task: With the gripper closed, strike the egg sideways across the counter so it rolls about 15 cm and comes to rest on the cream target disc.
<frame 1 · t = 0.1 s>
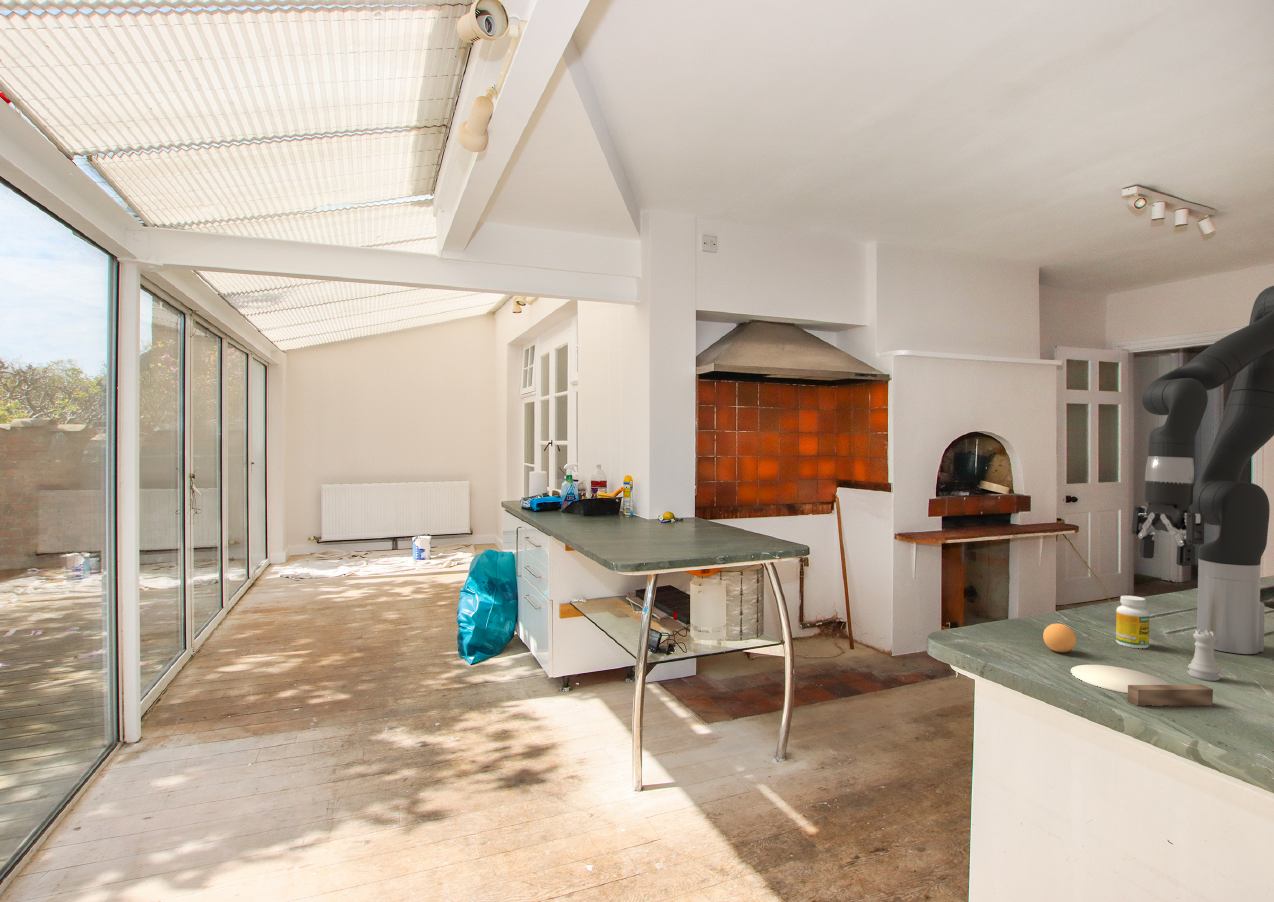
hand: (1164, 561, 130), 17 cm above the worktop, tool pointing down, fingers open, 8 cm apart
target disc: (1119, 679, 112), on the worktop
egg: (1059, 637, 127), on the worktop
rook chess piece: (1203, 678, 114), on the worktop
supplement bottle: (1132, 645, 132), on the worktop
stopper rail: (1169, 702, 102), on the worktop
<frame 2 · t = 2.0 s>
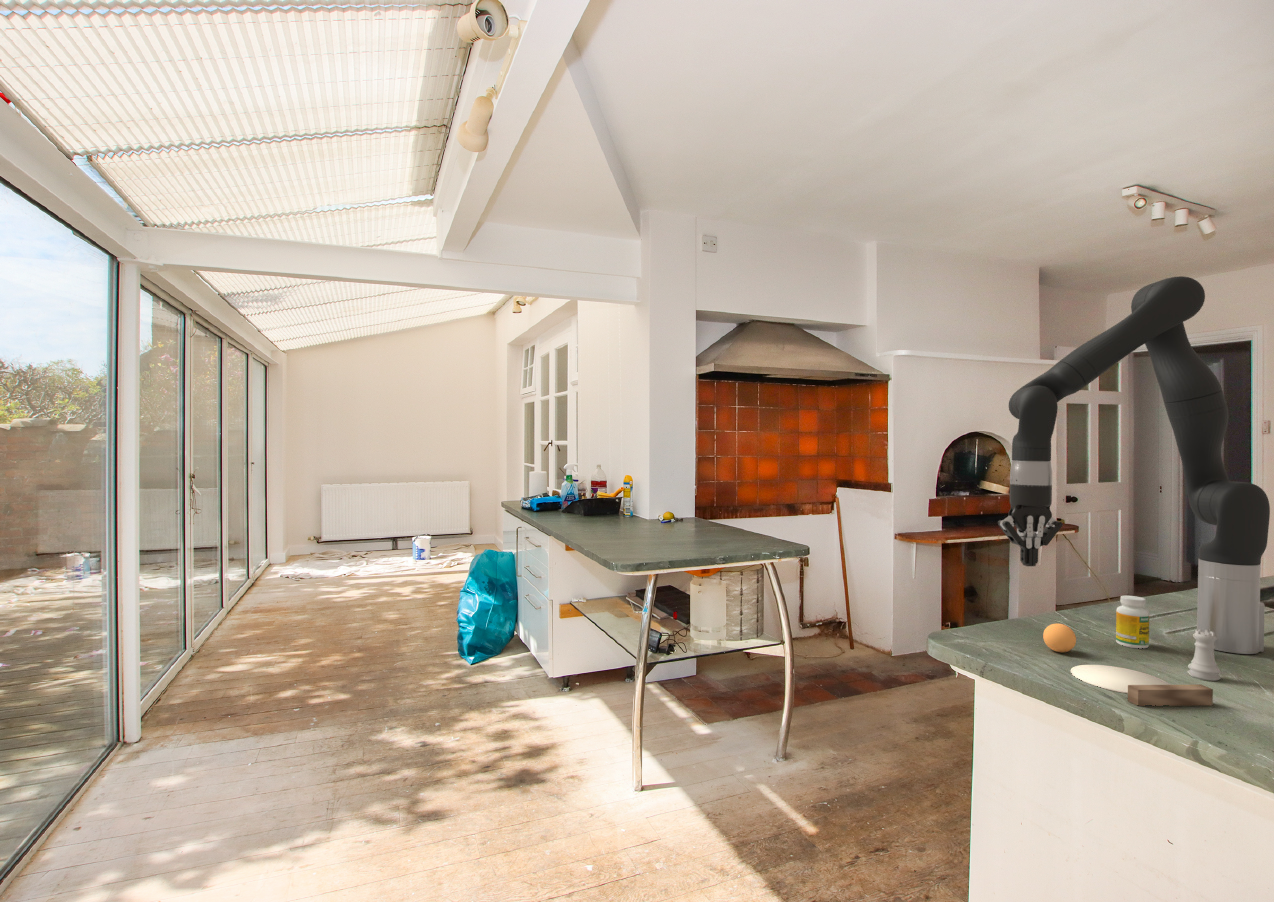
hand: (1029, 565, 136), 15 cm above the worktop, tool pointing down, fingers closed
nothing on the worktop moved.
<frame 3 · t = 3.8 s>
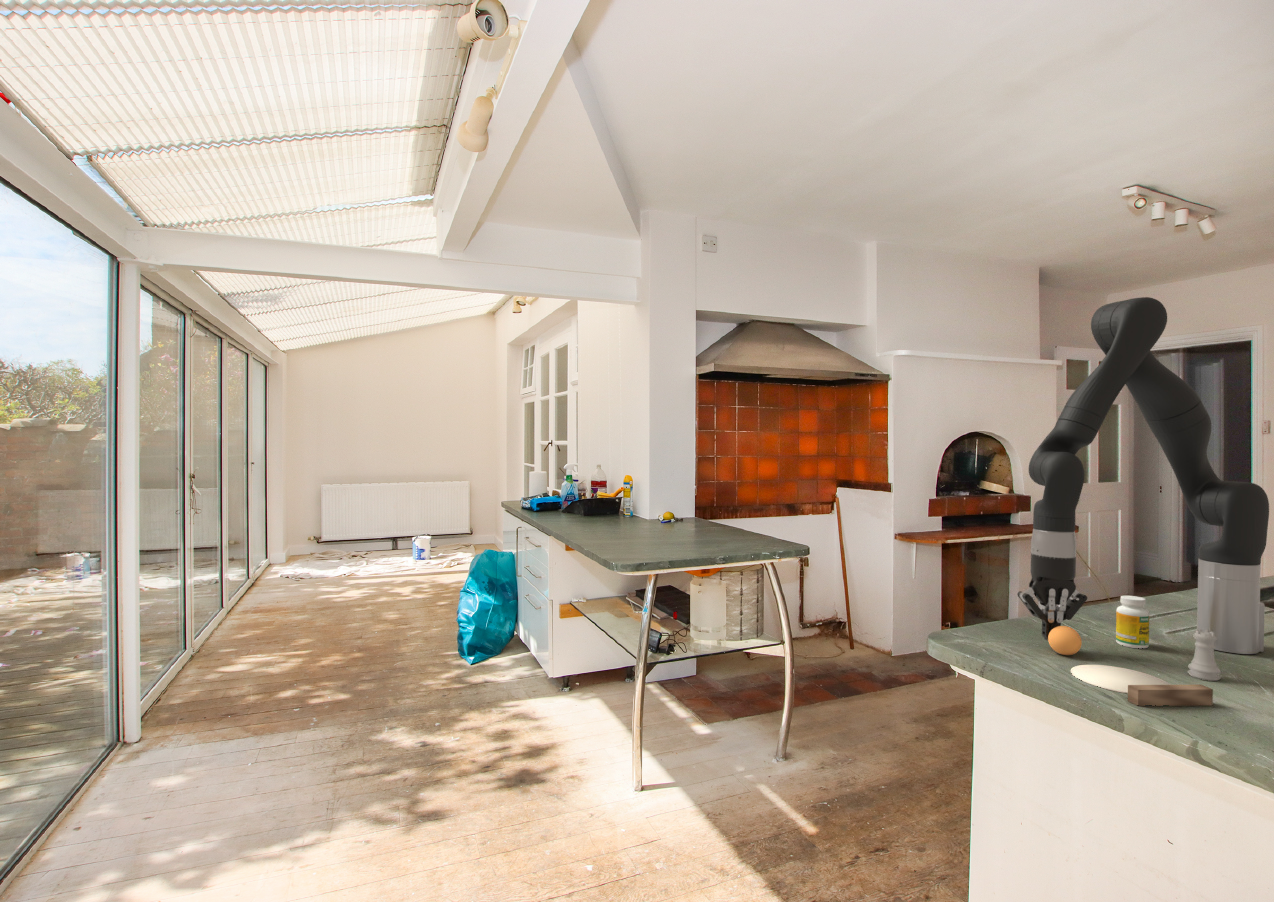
hand: (1051, 640, 129), 2 cm above the worktop, tool pointing down, fingers closed
egg: (1064, 640, 125), on the worktop, touching gripper
everything else where it was.
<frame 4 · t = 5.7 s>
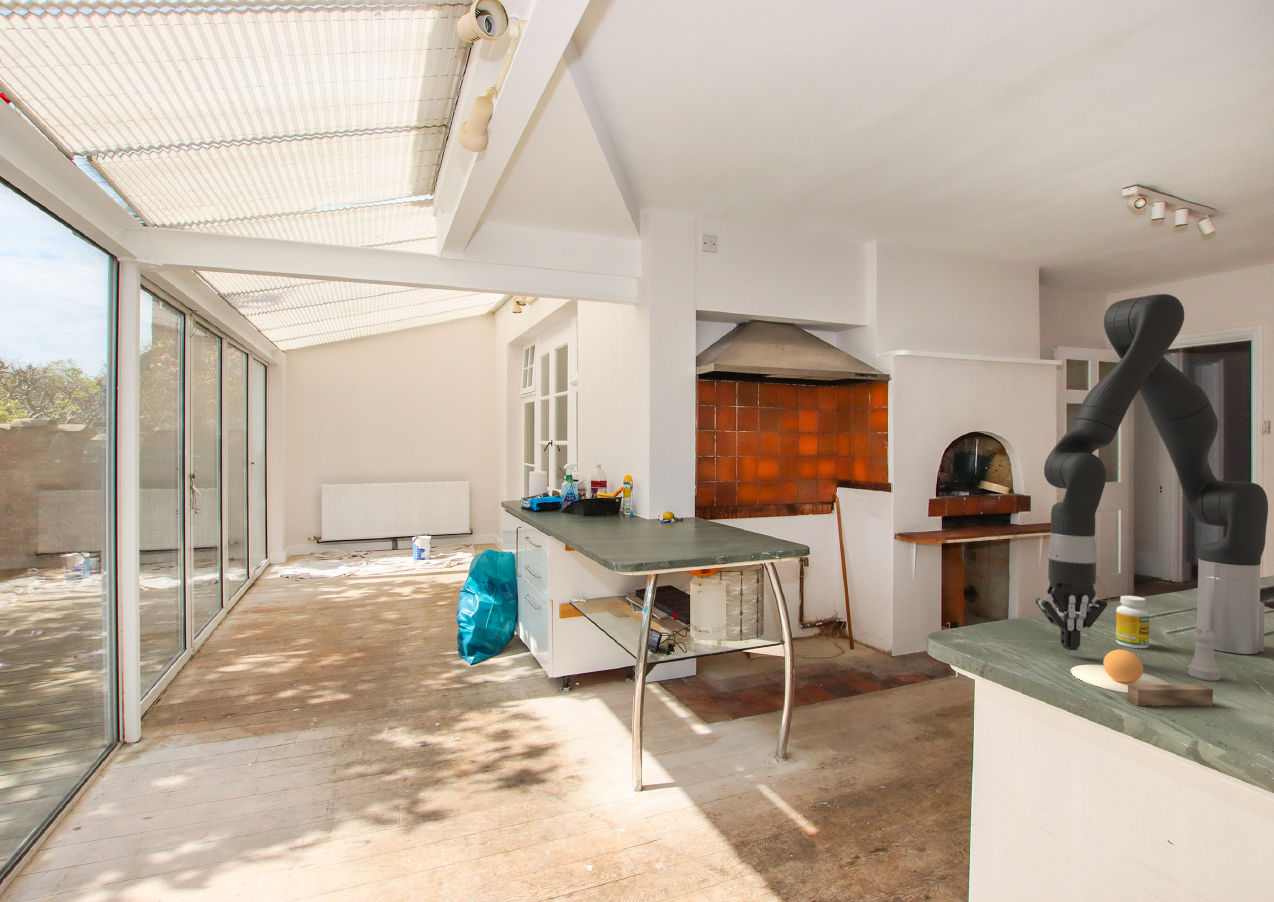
hand: (1070, 648, 124), 2 cm above the worktop, tool pointing down, fingers closed
egg: (1122, 666, 111), on the worktop
everything else where it was.
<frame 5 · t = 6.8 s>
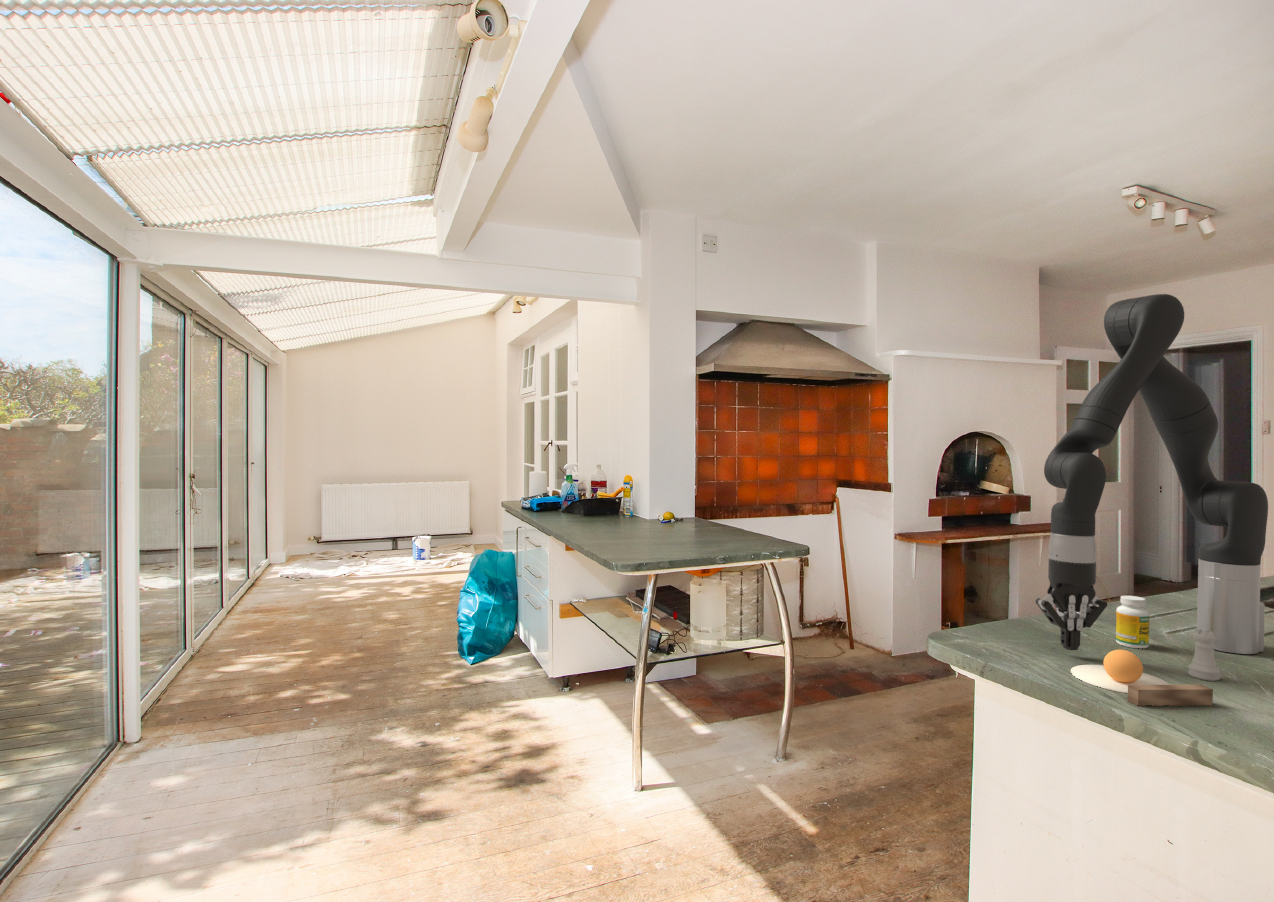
hand: (1070, 648, 124), 2 cm above the worktop, tool pointing down, fingers closed
nothing on the worktop moved.
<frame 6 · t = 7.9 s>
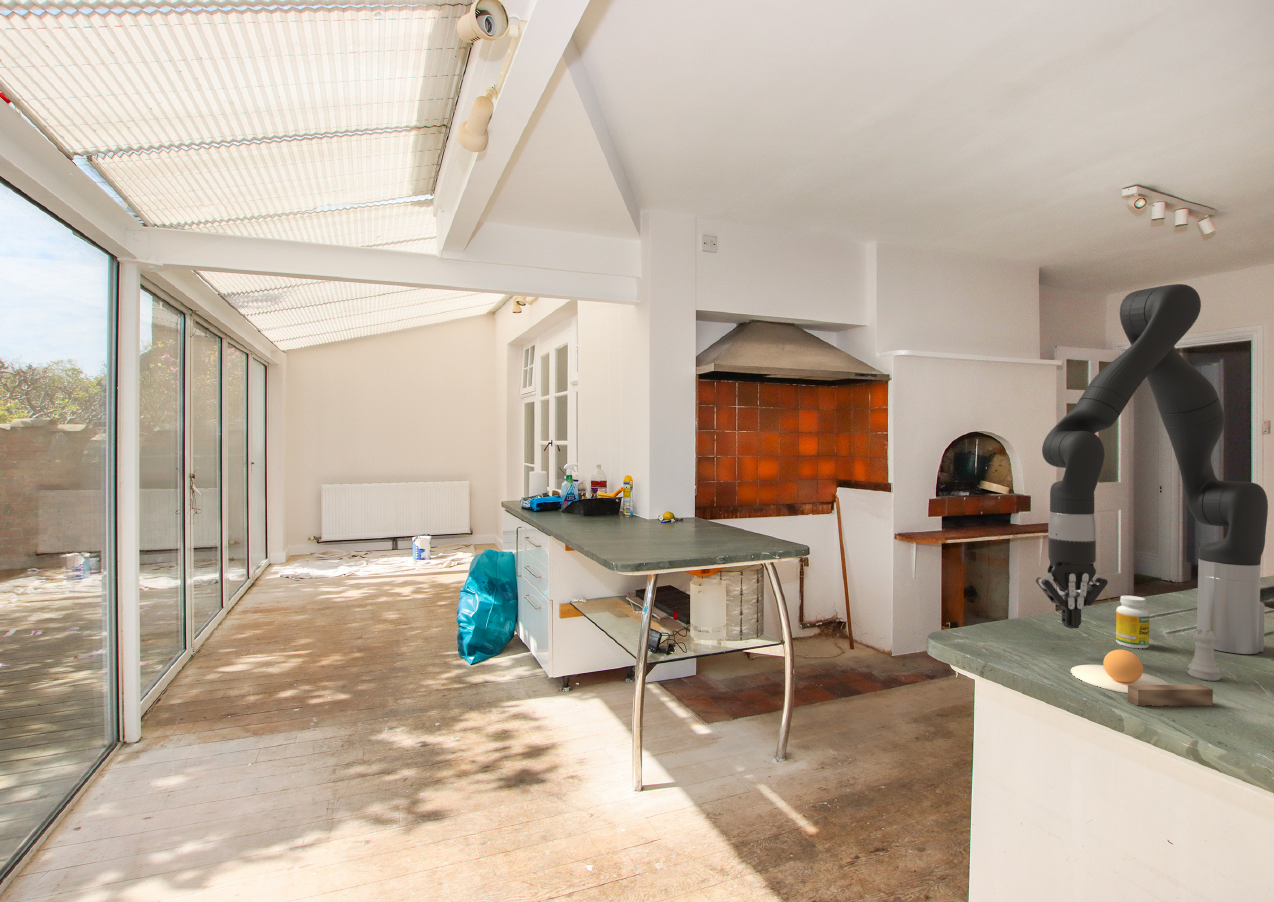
hand: (1071, 627, 124), 6 cm above the worktop, tool pointing down, fingers closed
nothing on the worktop moved.
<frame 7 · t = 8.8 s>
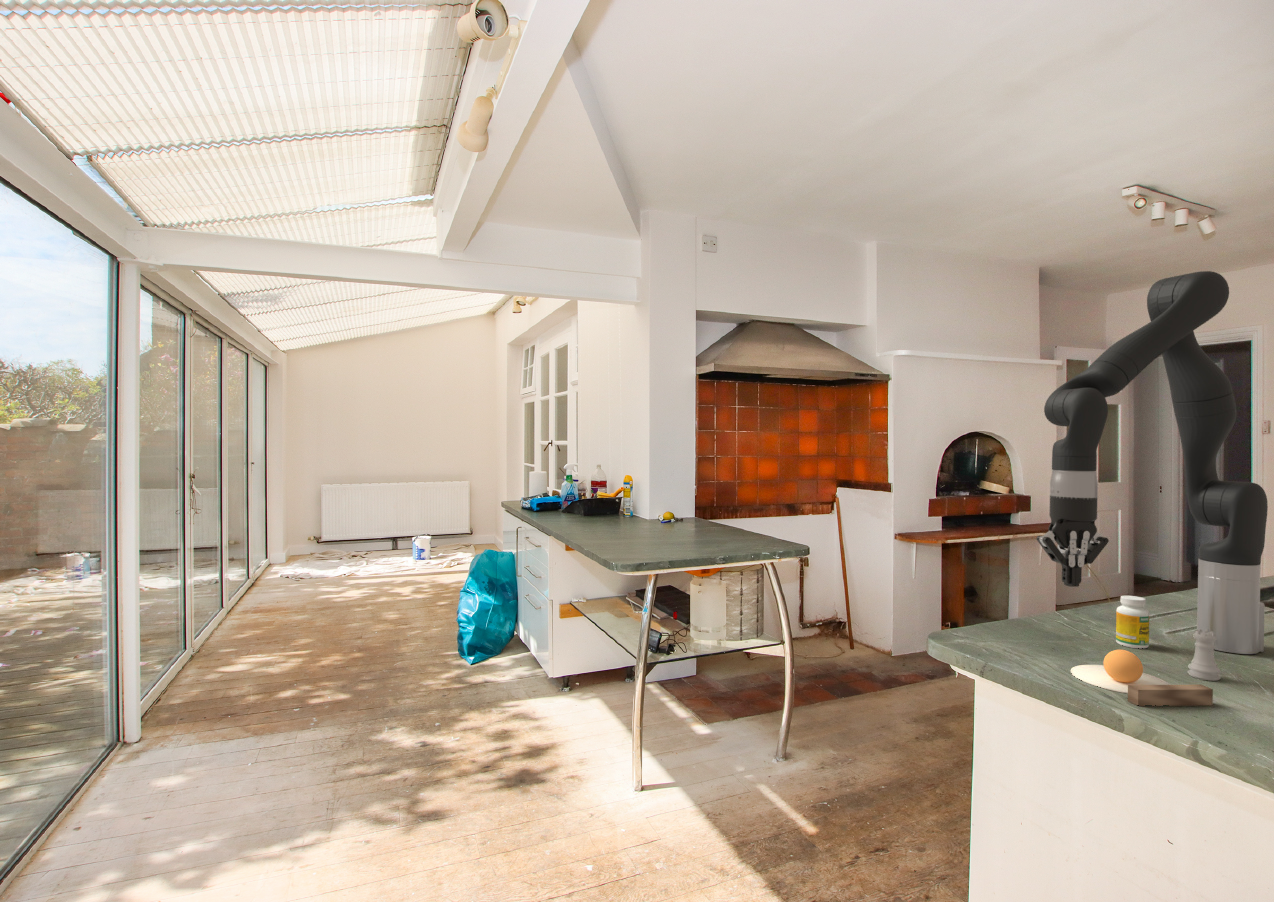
hand: (1071, 585, 124), 13 cm above the worktop, tool pointing down, fingers closed
nothing on the worktop moved.
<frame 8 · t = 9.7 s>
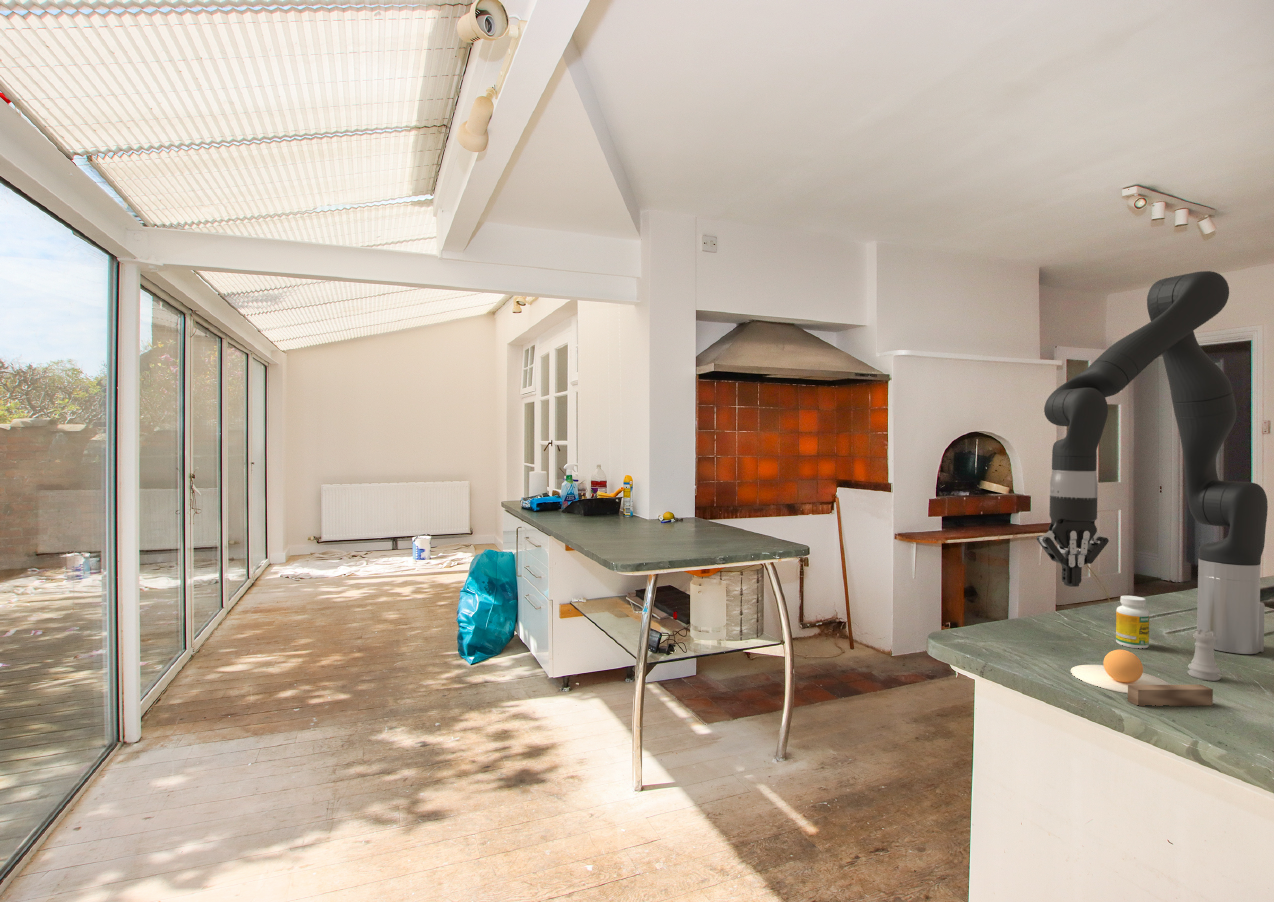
hand: (1071, 585, 124), 13 cm above the worktop, tool pointing down, fingers closed
nothing on the worktop moved.
at the end: egg 1.1 cm from the target disc (horizontally); egg at rest at the end (0.0 cm/s); egg moved 16.0 cm from its start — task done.
